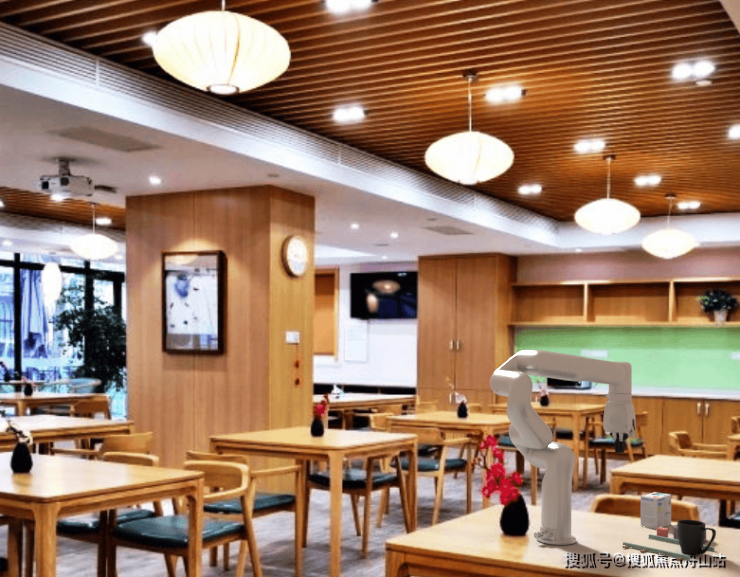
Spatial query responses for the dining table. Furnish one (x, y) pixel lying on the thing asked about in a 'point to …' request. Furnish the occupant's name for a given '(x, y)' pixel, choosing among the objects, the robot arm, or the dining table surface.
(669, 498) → the light bulb box
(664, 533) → the die
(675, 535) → the housing
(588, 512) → the dining table surface
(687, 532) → the mug
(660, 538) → the track
